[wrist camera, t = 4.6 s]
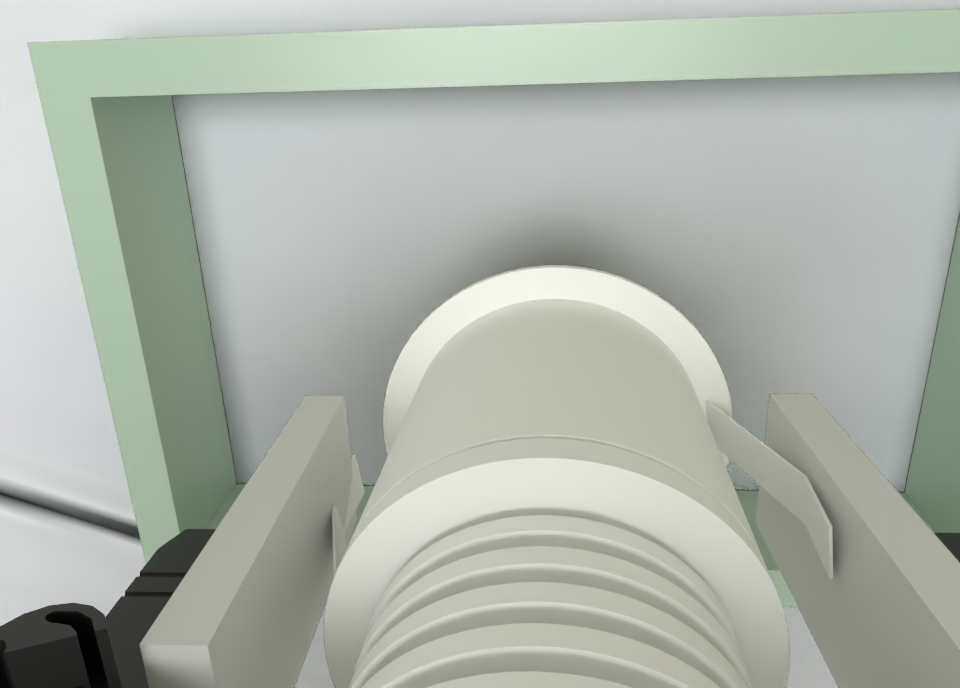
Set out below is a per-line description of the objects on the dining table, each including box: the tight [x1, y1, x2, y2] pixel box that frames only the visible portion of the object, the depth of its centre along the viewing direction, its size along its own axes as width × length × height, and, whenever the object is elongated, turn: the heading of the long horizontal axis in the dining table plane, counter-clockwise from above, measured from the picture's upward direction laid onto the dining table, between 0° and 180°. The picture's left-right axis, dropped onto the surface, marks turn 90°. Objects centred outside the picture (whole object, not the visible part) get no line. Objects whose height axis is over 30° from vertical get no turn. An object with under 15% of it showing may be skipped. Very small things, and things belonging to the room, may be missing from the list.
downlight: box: [324, 265, 833, 688], centre depth 11 cm, size 8×7×10 cm
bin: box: [27, 9, 960, 607], centre depth 20 cm, size 24×15×4 cm, turn 92°
